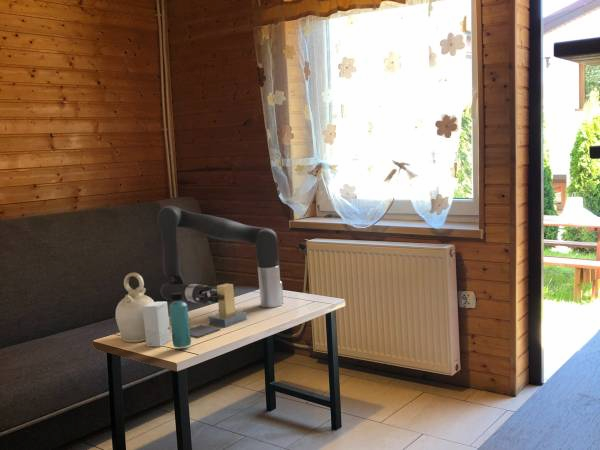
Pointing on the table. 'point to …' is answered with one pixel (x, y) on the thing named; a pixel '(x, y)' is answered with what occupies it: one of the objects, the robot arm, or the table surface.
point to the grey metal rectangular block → (227, 319)
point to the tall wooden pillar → (226, 300)
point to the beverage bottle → (179, 321)
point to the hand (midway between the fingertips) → (225, 297)
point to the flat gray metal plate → (202, 331)
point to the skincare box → (156, 324)
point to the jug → (132, 311)
